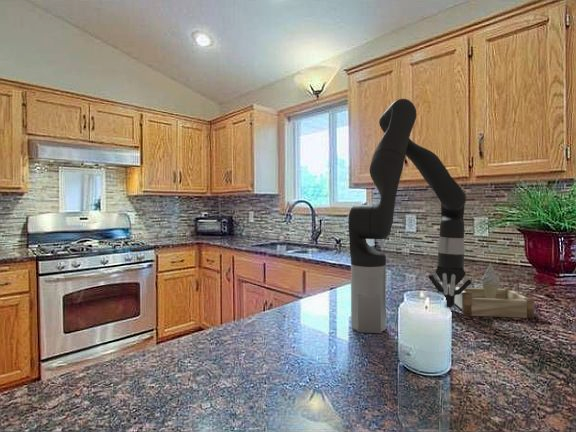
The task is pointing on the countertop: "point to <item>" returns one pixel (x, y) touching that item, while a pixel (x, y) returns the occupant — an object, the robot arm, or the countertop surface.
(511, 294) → the shallow wooden tray
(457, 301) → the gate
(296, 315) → the countertop surface
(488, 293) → the ice cream cone
